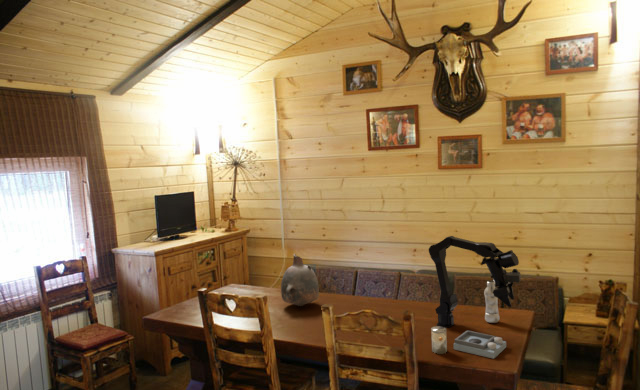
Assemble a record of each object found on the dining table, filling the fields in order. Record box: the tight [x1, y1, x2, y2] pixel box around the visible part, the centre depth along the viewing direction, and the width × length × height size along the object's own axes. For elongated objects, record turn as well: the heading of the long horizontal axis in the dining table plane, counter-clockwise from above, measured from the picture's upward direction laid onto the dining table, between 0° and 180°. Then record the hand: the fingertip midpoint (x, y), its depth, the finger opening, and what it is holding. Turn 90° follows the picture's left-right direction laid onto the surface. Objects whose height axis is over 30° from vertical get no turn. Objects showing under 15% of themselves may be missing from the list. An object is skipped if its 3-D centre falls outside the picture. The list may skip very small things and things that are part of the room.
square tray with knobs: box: [453, 330, 507, 359], centre depth 201 cm, size 17×14×4 cm
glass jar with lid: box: [430, 325, 448, 355], centre depth 198 cm, size 8×6×10 cm
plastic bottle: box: [483, 280, 500, 324], centre depth 230 cm, size 6×7×20 cm
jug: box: [280, 253, 320, 307], centre depth 270 cm, size 24×21×30 cm
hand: (511, 303), depth 210 cm, fingers open, 9 cm apart
